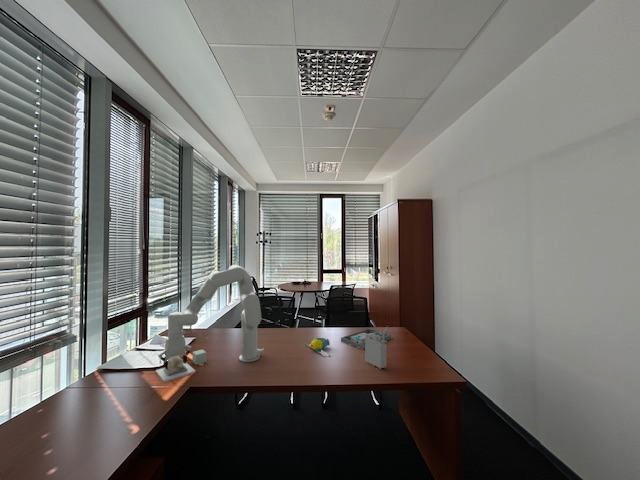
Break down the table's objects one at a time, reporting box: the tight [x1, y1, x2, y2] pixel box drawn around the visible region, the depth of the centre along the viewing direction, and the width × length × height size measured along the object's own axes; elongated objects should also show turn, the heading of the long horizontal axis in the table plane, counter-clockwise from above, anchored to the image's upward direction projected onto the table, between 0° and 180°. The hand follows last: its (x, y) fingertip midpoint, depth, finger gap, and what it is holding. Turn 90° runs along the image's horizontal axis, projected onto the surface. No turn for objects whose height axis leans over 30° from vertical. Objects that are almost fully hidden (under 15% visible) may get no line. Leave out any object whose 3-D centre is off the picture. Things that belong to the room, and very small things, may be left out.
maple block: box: [168, 357, 183, 373], centre depth 160 cm, size 6×6×6 cm
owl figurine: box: [303, 337, 331, 355], centre depth 194 cm, size 28×9×15 cm
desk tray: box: [340, 327, 392, 350], centre depth 212 cm, size 33×21×3 cm, turn 133°
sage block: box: [192, 349, 207, 365], centre depth 174 cm, size 6×6×6 cm
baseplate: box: [155, 362, 196, 383], centre depth 160 cm, size 16×16×2 cm
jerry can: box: [364, 326, 390, 368], centre depth 169 cm, size 15×5×25 cm, turn 35°
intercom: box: [349, 331, 383, 345], centre depth 216 cm, size 13×4×25 cm
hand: (175, 365), depth 160 cm, fingers open, 9 cm apart
